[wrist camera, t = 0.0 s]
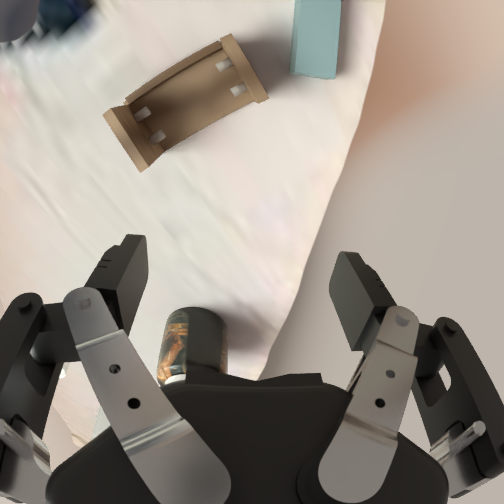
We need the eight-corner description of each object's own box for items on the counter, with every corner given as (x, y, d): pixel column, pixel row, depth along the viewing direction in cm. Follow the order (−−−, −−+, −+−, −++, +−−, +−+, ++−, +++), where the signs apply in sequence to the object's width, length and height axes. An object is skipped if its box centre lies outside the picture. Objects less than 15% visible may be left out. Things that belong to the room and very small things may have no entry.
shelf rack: (125, 102, 33) (97, 107, 25) (227, 40, 30) (226, 25, 22) (159, 154, 37) (140, 172, 30) (261, 96, 34) (269, 98, 26)
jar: (228, 307, 52) (228, 377, 39) (227, 349, 58) (227, 413, 45) (162, 305, 51) (147, 372, 38) (170, 347, 57) (160, 409, 44)
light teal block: (288, 74, 33) (294, 72, 29) (295, -4, 27) (301, -13, 23) (325, 79, 33) (335, 79, 30) (331, 3, 27) (341, -5, 24)
